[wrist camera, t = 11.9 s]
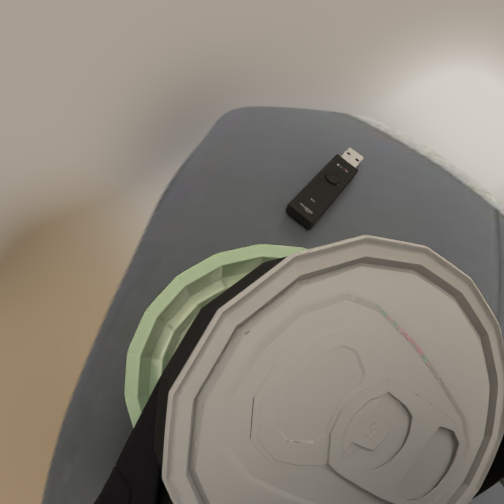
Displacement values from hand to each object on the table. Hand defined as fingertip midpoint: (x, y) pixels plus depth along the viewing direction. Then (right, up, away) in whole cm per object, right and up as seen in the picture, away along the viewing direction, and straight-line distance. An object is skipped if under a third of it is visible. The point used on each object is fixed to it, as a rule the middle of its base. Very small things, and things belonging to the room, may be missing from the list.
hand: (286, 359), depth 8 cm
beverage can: (0, -4, +6) cm, 7 cm away
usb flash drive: (+4, +8, +11) cm, 14 cm away
